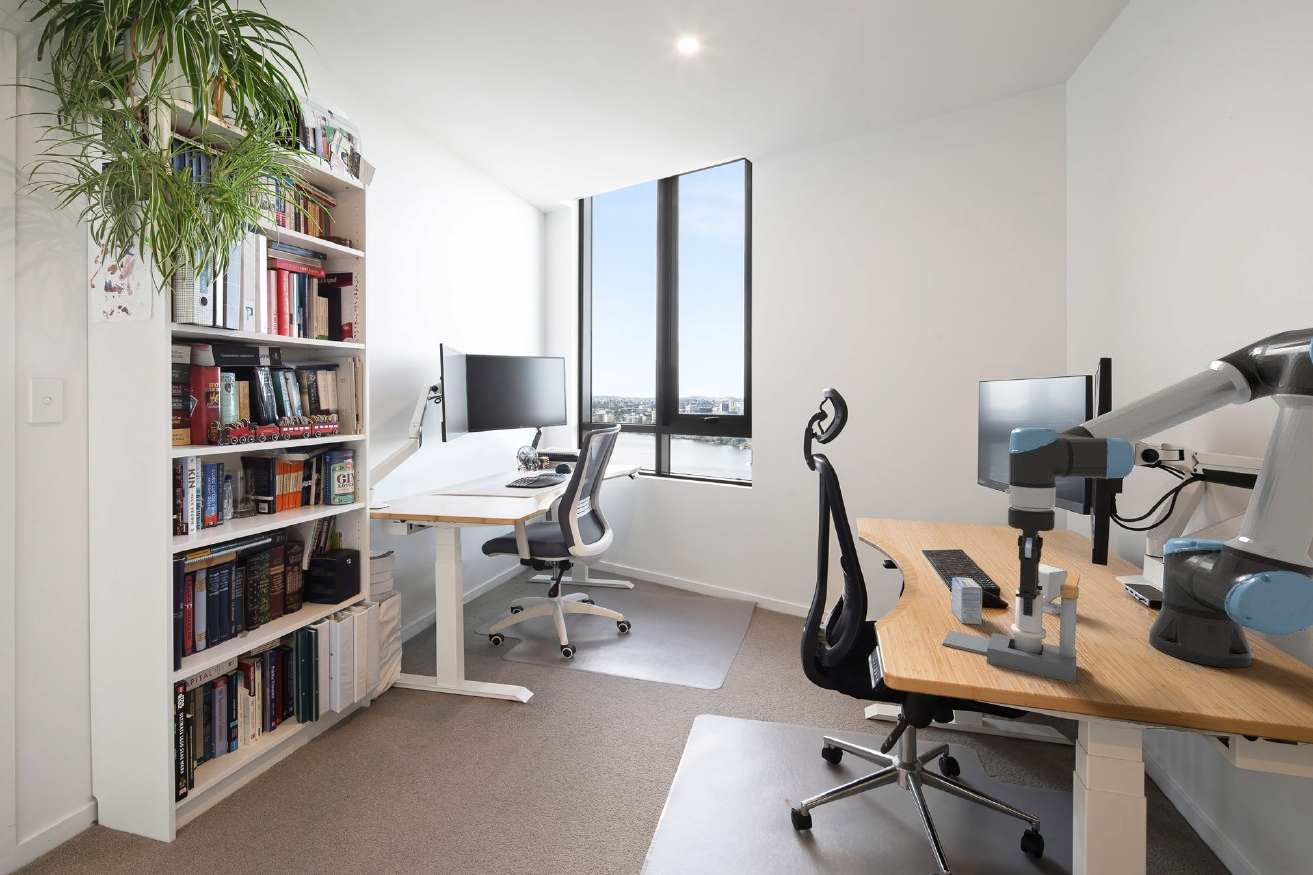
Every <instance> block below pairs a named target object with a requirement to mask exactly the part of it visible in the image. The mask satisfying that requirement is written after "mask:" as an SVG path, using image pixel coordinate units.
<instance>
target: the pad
mask: <svg viewBox="0 0 1313 875" xmlns="http://www.w3.org/2000/svg"><path fill="white" fill-rule="evenodd" d="M990 639H991V638H989V637H984V636H979V635H975V634H968V633H965V632H959V631H954V630H949V631H948V633H947V634H946V636H945V637H944V639H943V641H942V646H945V647H949V648H953V649H959V650H962V651H967V652H972V653H976V654H981V655H984V656H987V647H988V645H989V642H990Z"/></svg>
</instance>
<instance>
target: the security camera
mask: <svg viewBox="0 0 1313 875" xmlns="http://www.w3.org/2000/svg"><path fill="white" fill-rule="evenodd" d="M1068 573H1069V571H1067V570H1065V569H1061V568H1059V567H1058V568H1057V567H1054V566H1051V565H1047V564H1045V563H1039V576H1038V580H1039V584H1038V586H1042V591H1041V590H1040V592H1041V593H1042V594H1043V612H1042V613H1046V614H1049V615H1059V614H1061V603H1058V602H1054V600H1056V599H1057V598H1060V597H1061V596H1060V585H1065V582H1066V579H1067V576H1068Z"/></svg>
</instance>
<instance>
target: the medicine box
mask: <svg viewBox="0 0 1313 875" xmlns="http://www.w3.org/2000/svg"><path fill="white" fill-rule="evenodd" d="M950 606H951V608H950V609H951V611H950V612H951V613H952V614H954V616H955V617H956V618H957V620H959V621H960V623H961V624H964V625H965V624H966V625H978V626H979V625H982V624H983V623H982V622H983V621H982V620H983V617H982V615H983V588H982V587H981V586H980V584H978V583H977V582H976V581H975V580H973V579H972V578H970V577H959V576H958V577H957V576H956V577H952V579H951V605H950Z"/></svg>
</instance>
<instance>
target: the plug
mask: <svg viewBox="0 0 1313 875" xmlns="http://www.w3.org/2000/svg"><path fill="white" fill-rule="evenodd" d="M1019 592H1020V586H1019V587H1018V588H1017V589H1015V594H1016V593H1018V594H1019ZM1036 595H1037V617H1036V633H1033V632H1027V631H1022V630H1019V612H1020V597H1016V596H1015V615H1014V616H1015V618H1014V619H1015V620H1014V623H1012V624H1011V625H1010V632H1011V633H1012V634H1013V635H1014V637H1015V649H1016V650H1019V651H1024V652H1028V653H1033V654H1038V655H1040V654H1041V653H1042V643H1043V640H1045V639H1046V638H1047V630H1046V629H1045V628H1044V627H1043V613H1044V612H1043V598H1044V595H1043V594H1042V593H1041V592H1040V590H1039V589H1036Z"/></svg>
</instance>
